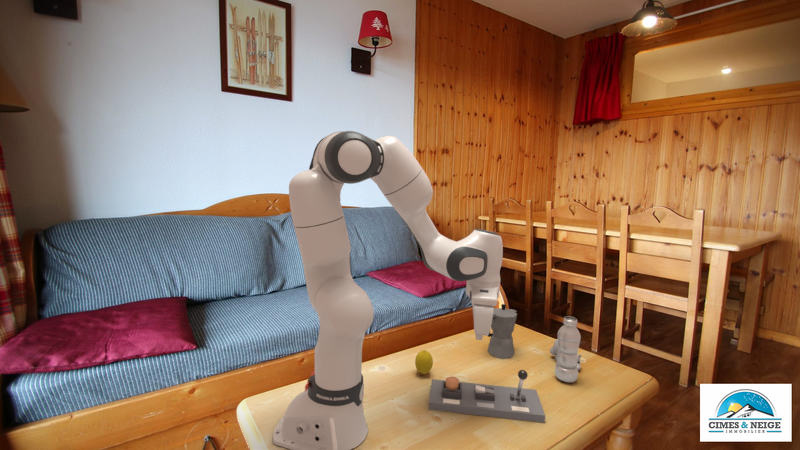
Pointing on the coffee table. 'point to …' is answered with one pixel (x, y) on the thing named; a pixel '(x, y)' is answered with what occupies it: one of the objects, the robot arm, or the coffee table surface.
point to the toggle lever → (520, 382)
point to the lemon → (424, 362)
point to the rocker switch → (483, 390)
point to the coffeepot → (502, 333)
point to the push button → (452, 383)
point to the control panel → (486, 401)
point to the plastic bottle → (568, 351)
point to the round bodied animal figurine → (555, 352)
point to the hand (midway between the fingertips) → (478, 337)
